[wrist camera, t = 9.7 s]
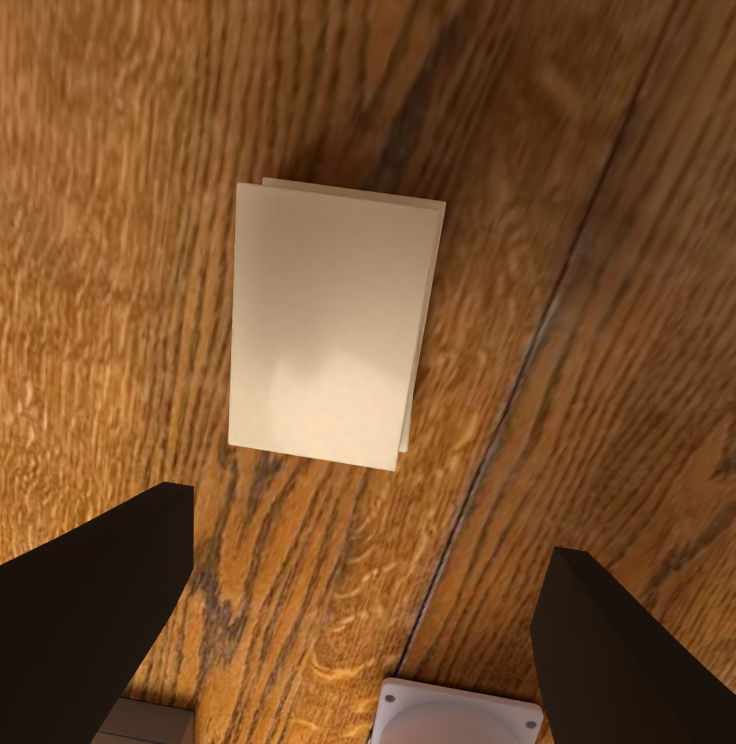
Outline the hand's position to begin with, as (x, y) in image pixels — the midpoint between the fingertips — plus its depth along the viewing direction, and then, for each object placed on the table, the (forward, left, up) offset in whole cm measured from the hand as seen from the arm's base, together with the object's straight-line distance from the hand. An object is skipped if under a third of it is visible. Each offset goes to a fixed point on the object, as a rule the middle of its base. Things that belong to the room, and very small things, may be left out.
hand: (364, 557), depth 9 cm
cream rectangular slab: (+3, +2, -7) cm, 8 cm away
